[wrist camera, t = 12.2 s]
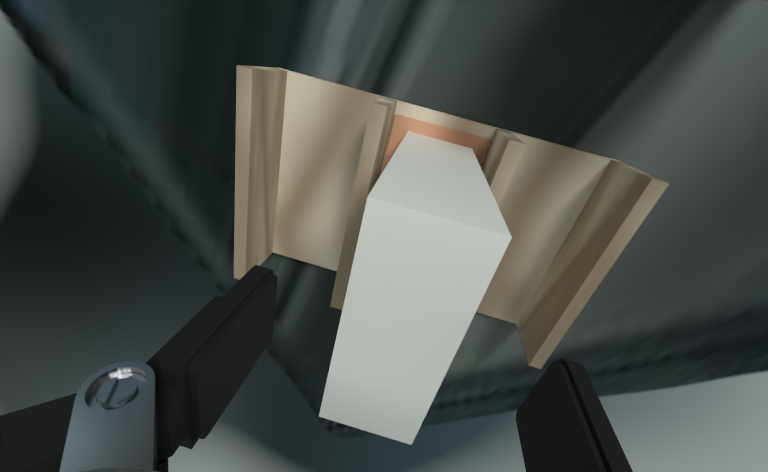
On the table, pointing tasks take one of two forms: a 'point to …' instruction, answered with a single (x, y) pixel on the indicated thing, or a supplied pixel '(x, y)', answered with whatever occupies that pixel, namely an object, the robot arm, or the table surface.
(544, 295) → the divider rack
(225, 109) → the table surface
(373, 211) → the white rectangular block
